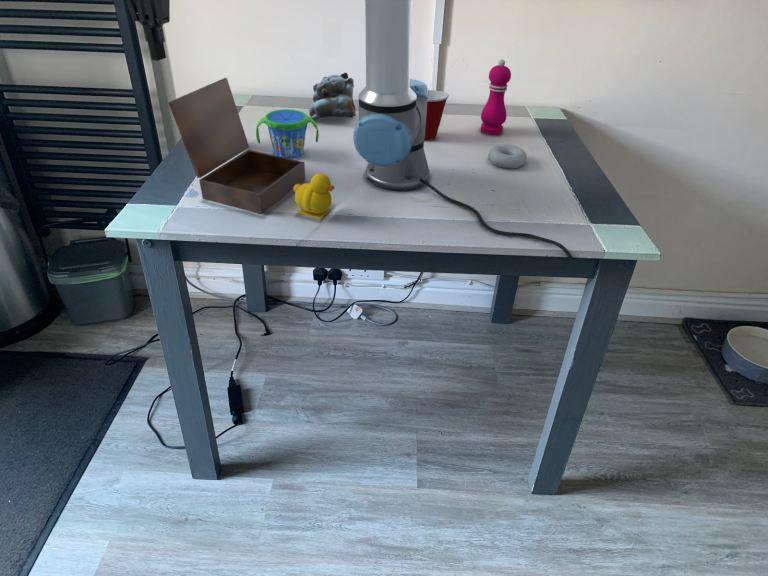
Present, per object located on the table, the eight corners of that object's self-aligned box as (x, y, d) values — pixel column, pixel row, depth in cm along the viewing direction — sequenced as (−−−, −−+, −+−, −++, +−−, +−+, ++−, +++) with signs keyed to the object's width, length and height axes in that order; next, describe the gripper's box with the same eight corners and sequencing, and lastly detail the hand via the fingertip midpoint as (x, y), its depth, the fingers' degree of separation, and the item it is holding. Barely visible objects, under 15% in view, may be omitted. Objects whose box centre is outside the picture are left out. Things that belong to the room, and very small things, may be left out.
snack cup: (320, 146, 149) (318, 109, 143) (318, 163, 141) (316, 124, 134) (261, 146, 148) (257, 108, 142) (255, 163, 140) (251, 123, 134)
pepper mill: (509, 133, 161) (521, 61, 149) (490, 138, 158) (501, 64, 146) (491, 125, 166) (502, 54, 154) (473, 129, 162) (483, 58, 150)
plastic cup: (435, 127, 162) (439, 85, 155) (450, 141, 154) (455, 98, 147) (400, 130, 160) (403, 88, 152) (414, 145, 151) (417, 101, 144)
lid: (226, 77, 125) (209, 80, 127) (170, 101, 111) (152, 104, 114) (249, 147, 133) (233, 148, 135) (200, 177, 120) (182, 178, 122)
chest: (305, 182, 132) (304, 161, 129) (262, 217, 119) (259, 195, 115) (250, 169, 137) (248, 149, 134) (203, 201, 123) (199, 179, 120)
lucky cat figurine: (300, 120, 164) (298, 71, 162) (324, 125, 174) (323, 78, 172) (342, 115, 156) (340, 63, 154) (365, 120, 166) (364, 72, 164)
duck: (288, 215, 120) (284, 173, 114) (302, 203, 124) (300, 162, 118) (327, 225, 117) (325, 183, 111) (340, 212, 121) (339, 171, 115)
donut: (530, 160, 147) (494, 151, 150) (533, 148, 145) (497, 138, 148) (518, 174, 140) (481, 164, 143) (520, 161, 138) (483, 151, 141)
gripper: (174, -73, 105) (195, 58, 119) (120, -77, 109) (147, 50, 123) (145, -70, 99) (171, 67, 113) (89, -75, 103) (121, 58, 117)
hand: (158, 58), depth 118 cm, fingers closed
